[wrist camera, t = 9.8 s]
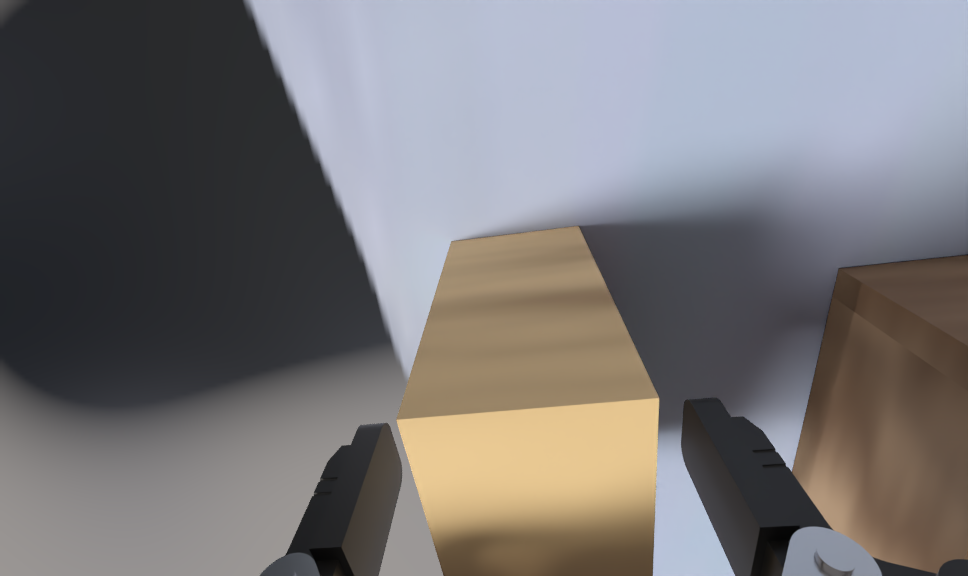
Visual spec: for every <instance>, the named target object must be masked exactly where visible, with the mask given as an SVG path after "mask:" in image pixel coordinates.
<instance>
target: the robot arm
mask: <svg viewBox="0 0 968 576" xmlns="http://www.w3.org/2000/svg"><path fill="white" fill-rule="evenodd" d="M681 448H682V454H683V459H684V462H685V465H686V468H687V470H688V472H689V474H690V477H691V479H692V481H693V483H694V485H695V488H696V490H697V492H698V494H699V497H700V499H701V501H702V503H703V505H704V508H705V510H706V512H707V514H708V516H709V519H710V521H711V523H712V525H713V527H714V530H715V532H716V534H717V536H718V538H719V541H720V543H721V545H722V547H723V549H724V552H725V554H726V556H727V558H728V561H729V563H730V565H731V567H732V569H733V572H734V574H735V576H968V560H966V559H954V560H950V561H947V562H946V563H944V564H943V565H942V566H941V567H940V569H939V571H938V573H937V574H936V573H932V572H928V571H924V570H919V569H915V568H911V567H907V566H902V565H898V564H894V563H890V562H886V561H883V560H880V559H877V558H874V557H872V556H871V555H870V554H869V553H868V552H867V551H866V550H865V549H864V548H863V547H862V546H860V545H859V544H858V543H856V542H855V541H854V540H852V539H850V538H849V537H847V536H845V535H843V534H841V533H839V532H837V531H834V530H833V529H832V528H831V527H830V525H829V524H828V523H827V521H826V520H825V519H824V517H823V516H822V514H821V513H820V511H819V510H818V509H817V507H816V506H815V504H814V503H813V502H812V500H811V499H810V497H809V496H808V495H807V493H806V492H805V490H804V489H803V487H802V486H801V485H800V483H799V482H798V480H797V479H796V478H795V476H794V475H793V473H792V472H791V470H790V469H789V468H788V467H786V463H785V462H784V461H783V459H782V458H781V456H780V455H779V454H778V452H776V451H775V448H774V446H773V445H772V444H771V442H770V441H769V439H768V438H767V437H766V435H765V434H764V432H763V431H762V430H761V429H759V428H758V427H757V426H755V425H754V424H753V423H751V422H750V421H749V420H747V419H746V418H745V417H730V415H729V414H728V412H727V411H726V409H725V407H724V406H723V404H722V403H721V401H720V400H719V399H718V398H703V399H690V400H686V401H685V402H684V410H683V423H682V437H681ZM401 482H402V465H401V460H400V457H399V454H398V451H397V447H396V444H395V441H394V438H393V435H392V432H391V428H390V426H389V424H388V423H380V424H367V425H360V426H359V427H358V429H357V431H356V434H355V436H354V439H353V441H352V444H351V445H346V446H341V447H340V448H339V450H338V451H337V452H336V453H335V454H334V455H333V456H332V457H331V458H330V460H329V461H328V463H327V465H326V467H325V469H324V471H323V474H322V476H321V478H320V482H319V483H318V485H317V487H316V489H315V491H314V496H312V498H311V500H310V502H309V505H308V507H307V509H306V512H305V514H304V516H303V518H302V520H301V523H300V525H299V527H298V530H297V531H296V534H295V536H294V538H293V540H292V543H291V545H290V547H289V549H288V551H287V553H286V555H285V556H283V557H281V558H279V559H277V560H276V561H274V562H273V563H272V564H271V565H269V566H268V567H267V568H266V569H265V570H264V571H263V572H262V573H261V574H260V576H378V575H379V571H380V567H381V563H382V559H383V555H384V551H385V547H386V543H387V539H388V535H389V531H390V527H391V523H392V519H393V515H394V511H395V507H396V503H397V499H398V495H399V491H400V487H401Z"/></svg>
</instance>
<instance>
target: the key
mask: <svg viewBox="0 0 968 576" xmlns="http://www.w3.org/2000/svg"><path fill="white" fill-rule="evenodd" d="M658 418H659V396H658V394H657V392H656V390H655V388H654V386H653V384H652V382H651V379H650V377H649V375H648V373H647V371H646V369H645V367H644V364H643V362H642V360H641V358H640V356H639V354H638V352H637V350H636V347H635V345H634V343H633V341H632V339H631V337H630V335H629V333H628V330H627V328H626V326H625V324H624V322H623V320H622V318H621V315H620V313H619V311H618V309H617V307H616V305H615V303H614V301H613V298H612V296H611V294H610V292H609V290H608V288H607V286H606V283H605V281H604V279H603V277H602V275H601V273H600V271H599V269H598V266H597V264H596V262H595V260H594V258H593V256H592V254H591V252H590V249H589V247H588V245H587V243H586V241H585V239H584V237H583V234H582V232H581V230H580V228H579V226H573V227H565V228H557V229H549V230H541V231H533V232H525V233H517V234H509V235H500V236H492V237H484V238H476V239H468V240H460V241H452V242H451V244H450V247H449V251H448V254H447V257H446V260H445V263H444V267H443V270H442V273H441V276H440V280H439V283H438V286H437V289H436V293H435V296H434V299H433V302H432V306H431V309H430V312H429V315H428V319H427V322H426V325H425V328H424V332H423V335H422V338H421V341H420V345H419V348H418V351H417V354H416V358H415V361H414V364H413V367H412V371H411V374H410V377H409V380H408V384H407V387H406V390H405V393H404V397H403V400H402V403H401V407H400V410H399V413H398V416H397V419H396V420H397V423H398V427H399V430H400V434H401V437H402V440H403V443H404V447H405V450H406V453H407V456H408V459H409V463H410V467H411V470H412V473H413V476H414V480H415V483H416V486H417V490H418V493H419V496H420V499H421V503H422V506H423V509H424V513H425V516H426V519H427V522H428V526H429V529H430V532H431V535H432V539H433V542H434V545H435V548H436V552H437V555H438V559H439V562H440V565H441V568H442V572H443V575H444V576H653V551H654V524H655V498H656V471H657V445H658Z"/></svg>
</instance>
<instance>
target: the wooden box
mask: <svg viewBox="0 0 968 576" xmlns="http://www.w3.org/2000/svg"><path fill="white" fill-rule="evenodd" d="M792 473H793V475H794V476H795V478H796V479H797V480H798V482H799V483H800V485H801V486H802V487H803V489H804V490H805V492H806V493H807V495H808V496H809V497H810V499H811V500H812V502H813V503H814V504H815V506H816V507H817V509H818V510H819V511H820V513H821V514H822V516H823V517H824V519H825V520H826V521H827V523H828V524H829V525H830V527H831V528H832V529H833V530H834V531H837V532H839V533H841V534H843V535H845V536H847V537H849V538H850V539H852V540H854V541H855V542H856V543H858V544H859V545H860V546H862V547H863V548H864V549H865V550H866V551H867V552H868V553H869V554H870V555H871V556H872V557H874V558H877V559H880V560H883V561H886V562H890V563H894V564H898V565H902V566H907V567H911V568H915V569H919V570H924V571H928V572H932V573H936V574H937V573H938V571H939V569H940V567H941V566H942V565H943V564H944V563H946V562H947V561H950V560H954V559H966V560H968V255H961V256H952V257H943V258H933V259H924V260H914V261H905V262H896V263H886V264H877V265H867V266H858V267H849V268H839V270H838V274H837V279H836V283H835V287H834V292H833V296H832V300H831V305H830V309H829V313H828V318H827V322H826V326H825V331H824V335H823V340H822V344H821V348H820V353H819V357H818V361H817V366H816V370H815V374H814V379H813V383H812V387H811V392H810V396H809V400H808V405H807V409H806V413H805V418H804V422H803V427H802V431H801V435H800V440H799V444H798V448H797V453H796V457H795V461H794V466H793V470H792Z"/></svg>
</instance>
